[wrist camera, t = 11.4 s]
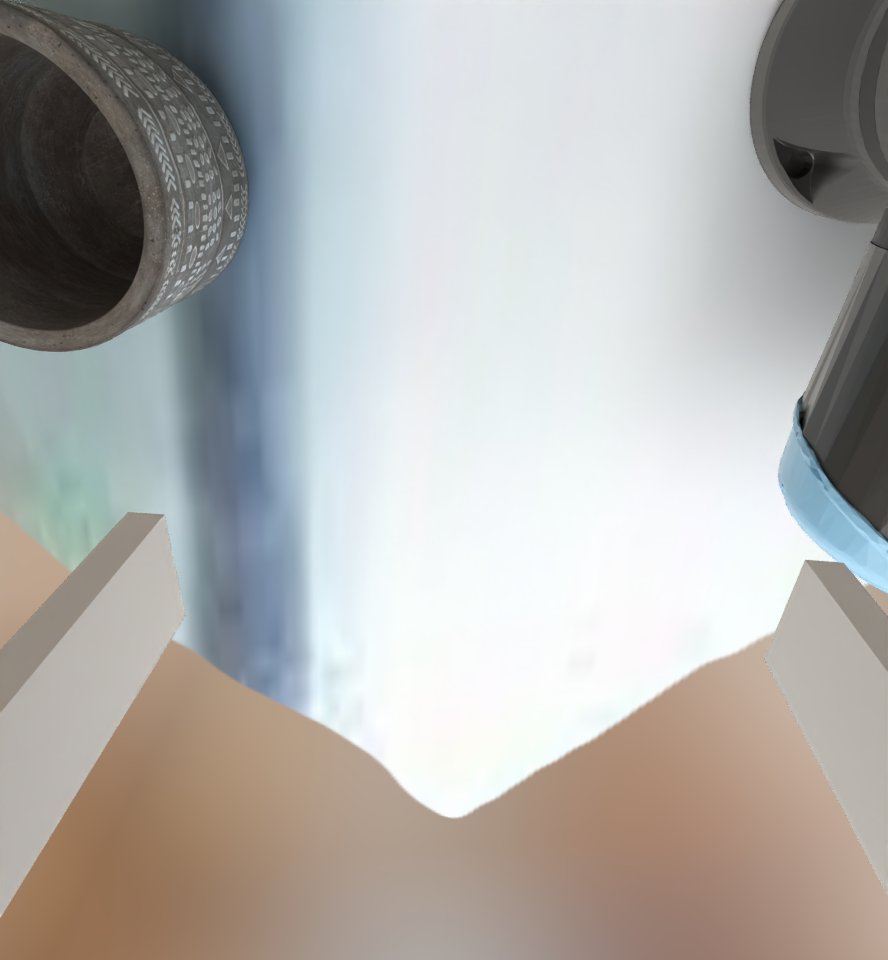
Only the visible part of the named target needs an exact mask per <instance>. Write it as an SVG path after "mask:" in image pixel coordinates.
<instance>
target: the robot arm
mask: <svg viewBox="0 0 888 960" xmlns="http://www.w3.org/2000/svg"><path fill="white" fill-rule="evenodd" d="M750 124H751V132H752V138H753V143H754V147H755V150H756V153H757V156H758V159H759V161H760V164H761V166H762V168H763V170H764V172H765V173H766V175H767V177H768V178H769V180H770V181H771V182H772V184H773V185H774V186H775V187H776V189H777V190H778V191H779V192H780V193H781V194H782V195H783V196H784V197H786V198H787V199H788V200H789V201H791V202H792V203H793V204H795V205H797V206H798V207H800V208H802V209H804V210H806V211H808V212H811V213H814V214H816V215H820V216H824V217H827V218H831V219H835V220H839V221H844V222H851V223H879V225H878V228H877V230H876V232H875V235H874V237H873V239H872V241H871V242H870V244H869V247H868V249H867V251H866V254H865V256H864V258H863V261H862V263H861V266H860V268H859V270H858V273H857V275H856V277H855V280H854V282H853V284H852V287H851V289H850V292H849V294H848V296H847V299H846V301H845V303H844V306H843V308H842V310H841V312H840V315H839V317H838V319H837V321H836V324H835V326H834V328H833V331H832V333H831V335H830V337H829V340H828V342H827V344H826V346H825V349H824V351H823V353H822V355H821V358H820V360H819V362H818V364H817V367H816V369H815V371H814V374H813V376H812V378H811V380H810V383H809V385H808V387H807V389H806V391H805V392H804V394H803V395H802V396H801V398H800V399H799V400H798V402H797V404H796V406H795V409H794V414H793V427H792V430H791V433H790V435H789V438H788V441H787V444H786V446H785V449H784V452H783V455H782V457H781V460H780V464H779V472H778V478H779V486H780V488H781V491H782V493H783V495H784V496H785V501H786V505H787V508H788V510H789V511H790V513H791V515H792V516H793V518H794V519H795V520H796V522H797V523H798V524H799V526H800V527H801V528H802V529H803V531H804V532H805V533H806V534H807V535H808V536H809V537H810V538H811V539H812V540H813V541H814V542H815V543H816V544H817V545H818V546H819V547H820V548H821V549H822V550H823V551H825V552H826V553H827V554H828V555H829V556H831V557H832V558H833V559H834V560H836V561H837V562H827V561H813V560H805V562H804V564H803V566H802V569H801V571H800V574H799V576H798V579H797V581H796V583H795V586H794V588H793V591H792V593H791V595H790V598H789V600H788V603H787V605H786V607H785V610H784V612H783V615H782V617H781V619H780V622H779V624H778V627H777V629H776V631H775V634H774V636H773V639H772V641H771V644H770V646H769V648H768V651H767V653H766V655H765V658H764V660H765V662H766V663H767V665H768V667H769V669H770V671H771V673H772V675H773V677H774V679H775V681H776V683H777V684H778V686H779V689H780V690H781V692H782V694H783V696H784V698H785V700H786V702H787V704H788V705H789V708H790V710H791V712H792V713H793V715H794V717H795V719H796V721H797V723H798V725H799V727H800V729H801V731H802V732H803V735H804V736H805V738H806V740H807V742H808V744H809V746H810V748H811V750H812V752H813V754H814V756H815V757H816V760H817V761H818V763H819V765H820V767H821V769H822V771H823V773H824V775H825V777H826V779H827V781H828V783H829V784H830V786H831V788H832V790H833V792H834V794H835V796H836V798H837V800H838V801H839V804H840V806H841V807H842V809H843V811H844V813H845V815H846V817H847V819H848V821H849V823H850V825H851V827H852V829H853V830H854V832H855V834H856V836H857V838H858V840H859V842H860V844H861V846H862V848H863V850H864V852H865V854H866V855H867V857H868V859H869V861H870V863H871V865H872V867H873V869H874V871H875V873H876V875H877V877H878V878H879V880H880V882H881V884H882V886H883V888H884V890H885V892H886V894H887V895H888V616H887V615H886V614H885V612H884V611H883V610H882V609H881V608H880V606H879V605H878V604H877V603H876V602H875V600H874V599H873V598H872V597H871V595H870V594H869V593H868V592H867V590H866V589H865V588H864V587H863V586H862V584H861V583H860V582H859V581H858V579H857V578H856V577H855V576H854V575H853V573H854V574H855V575H857V576H858V577H860V578H861V579H863V580H865V581H866V582H868V583H870V584H871V585H873V586H875V587H877V588H878V589H880V590H882V591H884V592H886V593H888V0H784V2H783V3H782V5H781V6H780V8H779V10H778V12H777V14H776V16H775V17H774V19H773V21H772V23H771V26H770V28H769V30H768V32H767V34H766V37H765V39H764V42H763V44H762V47H761V50H760V53H759V56H758V60H757V63H756V67H755V72H754V76H753V82H752V88H751V98H750ZM185 616H186V614H185V609H184V605H183V600H182V595H181V591H180V586H179V581H178V577H177V572H176V567H175V563H174V558H173V553H172V549H171V544H170V539H169V534H168V530H167V525H166V520H165V516H164V515H162V514H148V513H134V512H128V513H127V514H126V515H125V516H124V517H123V518H122V519H121V520H120V521H119V522H118V523H117V525H116V526H115V527H114V528H113V529H112V530H111V531H110V532H109V533H108V534H107V535H106V536H105V537H104V539H103V540H102V541H101V542H100V543H99V544H98V545H97V546H96V547H95V548H94V549H93V550H92V552H91V553H90V554H89V555H88V556H87V557H86V558H85V559H84V560H83V561H82V562H81V563H80V564H79V566H78V567H77V568H76V569H75V570H74V571H73V572H72V573H71V574H70V575H69V576H68V577H67V579H66V580H65V581H64V582H63V583H62V584H61V585H60V586H59V587H58V588H57V589H56V590H55V592H54V593H53V594H52V595H51V596H50V597H49V598H48V599H47V600H46V601H45V602H44V604H42V606H41V607H40V608H39V609H38V610H37V611H36V612H35V613H34V614H33V615H32V616H31V618H30V619H29V620H28V621H27V622H26V623H25V624H24V625H23V626H22V627H21V628H20V629H19V630H18V631H17V633H16V634H15V635H14V636H13V637H12V638H11V639H10V640H9V641H8V642H7V643H6V644H5V645H4V647H3V648H2V649H1V650H0V918H1V916H2V914H3V912H4V911H5V909H6V908H7V906H8V904H9V903H10V901H11V900H12V898H13V896H14V895H15V893H16V891H17V890H18V888H19V887H20V885H21V883H22V881H23V880H24V878H25V877H26V875H27V873H28V872H29V870H30V869H31V867H32V865H33V864H34V862H35V860H36V859H37V857H38V855H39V854H40V852H41V851H42V849H43V847H44V846H45V844H46V842H47V841H48V839H49V838H50V836H51V834H52V833H53V831H54V829H55V828H56V826H57V825H58V823H59V821H60V820H61V818H62V816H63V815H64V813H65V811H66V810H67V808H68V807H69V805H70V803H71V802H72V800H73V798H74V797H75V795H76V794H77V792H78V790H79V789H80V787H81V785H82V784H83V782H84V780H85V779H86V777H87V776H88V774H89V772H90V771H91V769H92V767H93V766H94V764H95V762H96V761H97V759H98V758H99V756H100V754H101V753H102V751H103V749H104V748H105V746H106V745H107V743H108V741H109V740H110V738H111V736H112V735H113V733H114V732H115V730H116V728H117V726H118V725H119V723H120V722H121V720H122V718H123V717H124V715H125V714H126V712H127V710H128V709H129V707H130V705H131V704H132V702H133V701H134V699H135V697H136V696H137V694H138V692H139V691H140V689H141V687H142V686H143V684H144V683H145V681H146V679H147V678H148V676H149V674H150V673H151V671H152V670H153V668H154V666H155V665H156V663H157V661H158V660H159V658H160V657H161V655H162V653H163V652H164V650H165V648H166V647H167V645H168V643H169V642H170V640H171V639H172V637H173V635H174V634H175V632H176V630H177V629H178V627H179V626H180V624H181V622H182V621H183V619H184V617H185Z"/></svg>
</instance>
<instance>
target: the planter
mask: <svg viewBox="0 0 888 960" xmlns="http://www.w3.org/2000/svg"><path fill="white" fill-rule="evenodd" d="M248 207H249V190H248V179H247V172H246V167H245V162H244V159H243V155H242V151H241V148H240V145H239V142H238V140H237V137H236V135H235V132H234V130H233V128H232V126H231V124H230V122H229V120H228V118H227V116H226V114H225V113H224V111H223V109H222V108H221V106H220V104H219V103H218V101H217V100H216V99H215V97H214V96H213V94H212V93H211V92H210V90H209V89H208V88H207V87H206V85H205V84H204V83H203V82H202V81H201V80H200V79H199V78H198V77H197V76H196V75H195V74H194V72H193V71H192V70H190V69H189V68H188V67H187V66H186V65H185V64H184V63H183V62H181V61H180V60H179V59H178V58H176V57H175V56H174V55H172V54H171V53H169V52H168V51H167V50H165V49H163V48H162V47H160V46H158V45H157V44H155V43H153V42H151V41H149V40H147V39H145V38H142V37H140V36H137V35H135V34H132V33H129V32H126V31H124V30H120V29H117V28H114V27H110V26H107V25H103V24H99V23H94V22H89V21H84V20H79V19H75V18H72V17H69V16H65V15H62V14H59V13H55V12H52V11H49V10H45V9H41V8H37V7H33V6H29V5H25V4H21V3H17V2H12V1H8V0H0V341H2V342H5V343H8V344H11V345H14V346H18V347H22V348H27V349H32V350H38V351H48V352H67V351H75V350H82V349H87V348H90V347H93V346H97V345H100V344H102V343H104V342H107V341H109V340H111V339H113V338H114V337H116V336H118V335H120V334H121V333H123V332H125V331H126V330H128V329H130V328H132V327H134V326H136V325H138V324H140V323H142V322H144V321H146V320H147V319H149V318H151V317H153V316H155V315H156V314H158V313H160V312H162V311H163V310H165V309H167V308H168V307H170V306H172V305H173V304H175V303H178V302H180V301H182V300H184V299H186V298H187V297H189V296H191V295H193V294H195V293H196V292H198V291H199V290H201V289H202V288H204V287H205V286H207V285H208V284H210V283H211V282H212V281H213V280H214V279H216V278H217V277H218V276H219V275H220V274H221V273H222V272H223V271H224V270H225V268H226V267H227V266H228V265H229V263H230V262H231V260H232V259H233V257H234V255H235V254H236V252H237V250H238V248H239V245H240V243H241V240H242V237H243V234H244V231H245V227H246V222H247V216H248Z"/></svg>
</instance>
